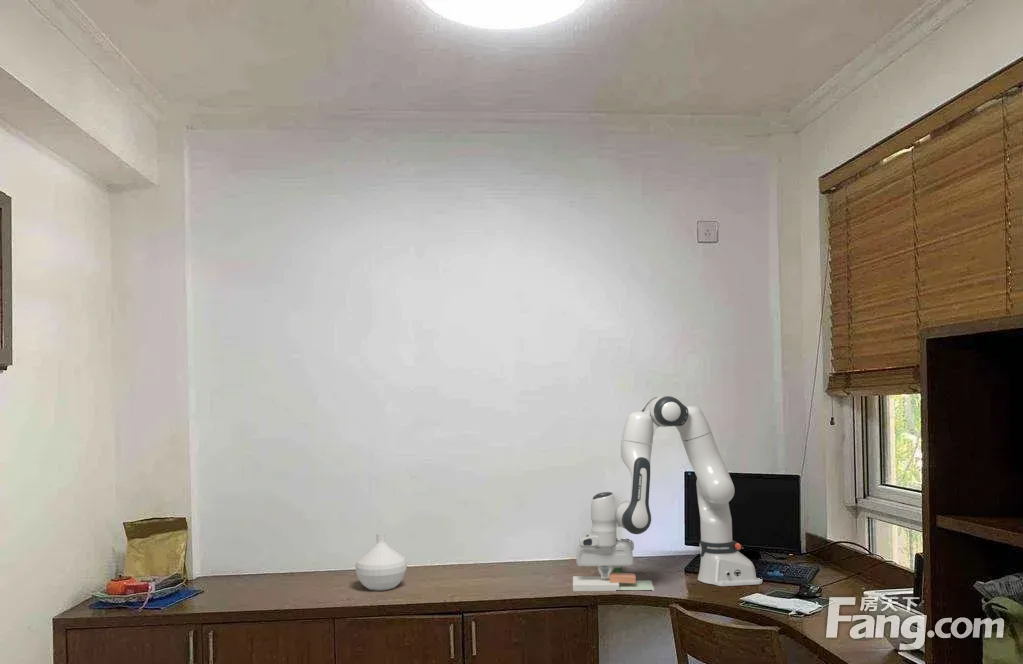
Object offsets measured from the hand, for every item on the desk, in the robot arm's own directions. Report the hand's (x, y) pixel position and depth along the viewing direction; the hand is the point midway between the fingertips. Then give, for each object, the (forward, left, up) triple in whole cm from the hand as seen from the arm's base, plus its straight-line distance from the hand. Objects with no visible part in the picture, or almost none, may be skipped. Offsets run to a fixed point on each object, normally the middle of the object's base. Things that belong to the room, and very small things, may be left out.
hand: (605, 578), depth 307 cm
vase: (+81, 0, -3) cm, 81 cm away
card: (-6, 0, -1) cm, 6 cm away
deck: (+4, 0, -3) cm, 4 cm away
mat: (-11, 0, -3) cm, 11 cm away
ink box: (-2, -19, -3) cm, 19 cm away
